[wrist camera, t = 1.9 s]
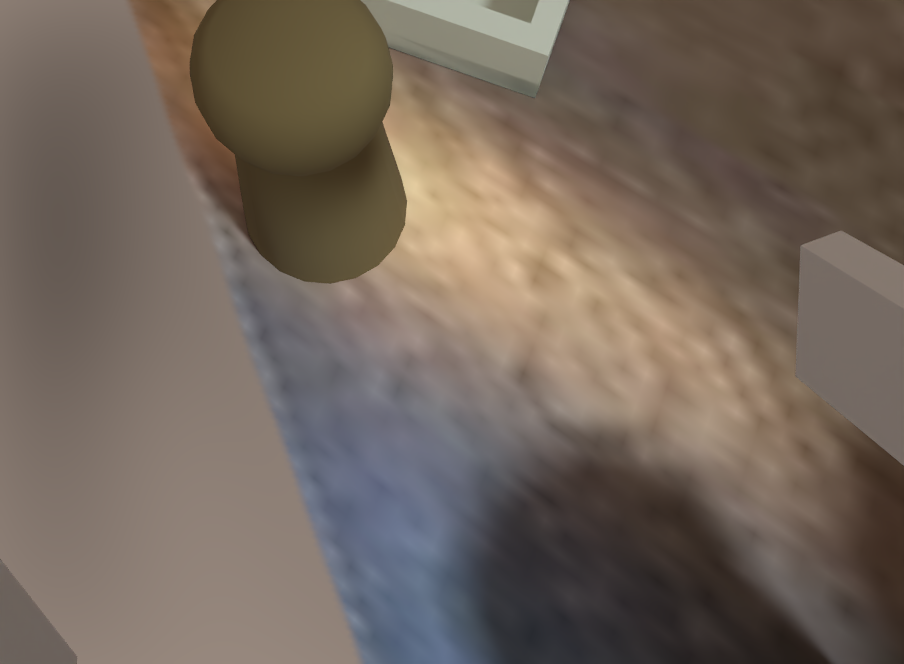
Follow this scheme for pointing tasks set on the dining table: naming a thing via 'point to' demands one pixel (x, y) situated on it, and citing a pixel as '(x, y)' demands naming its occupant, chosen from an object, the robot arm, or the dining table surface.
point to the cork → (304, 129)
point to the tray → (476, 36)
